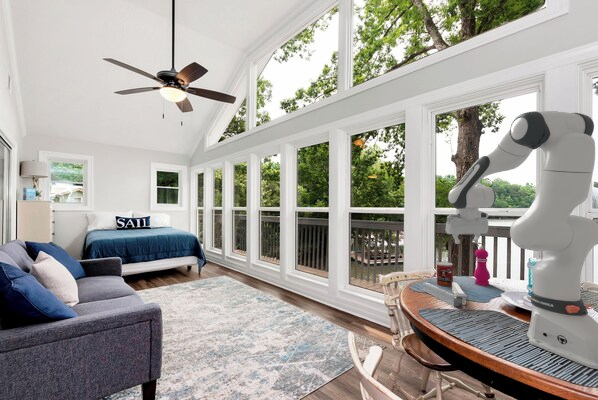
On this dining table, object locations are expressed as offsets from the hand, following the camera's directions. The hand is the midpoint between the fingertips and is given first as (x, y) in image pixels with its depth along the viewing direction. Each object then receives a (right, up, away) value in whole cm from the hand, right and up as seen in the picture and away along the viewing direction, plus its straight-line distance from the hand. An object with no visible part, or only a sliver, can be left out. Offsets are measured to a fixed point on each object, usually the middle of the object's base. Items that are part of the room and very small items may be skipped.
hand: (466, 243), depth 133 cm
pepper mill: (+18, -24, +17) cm, 35 cm away
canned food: (-1, -25, +18) cm, 30 cm away
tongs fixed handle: (-14, -24, -5) cm, 28 cm away
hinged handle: (-8, -24, -6) cm, 26 cm away
